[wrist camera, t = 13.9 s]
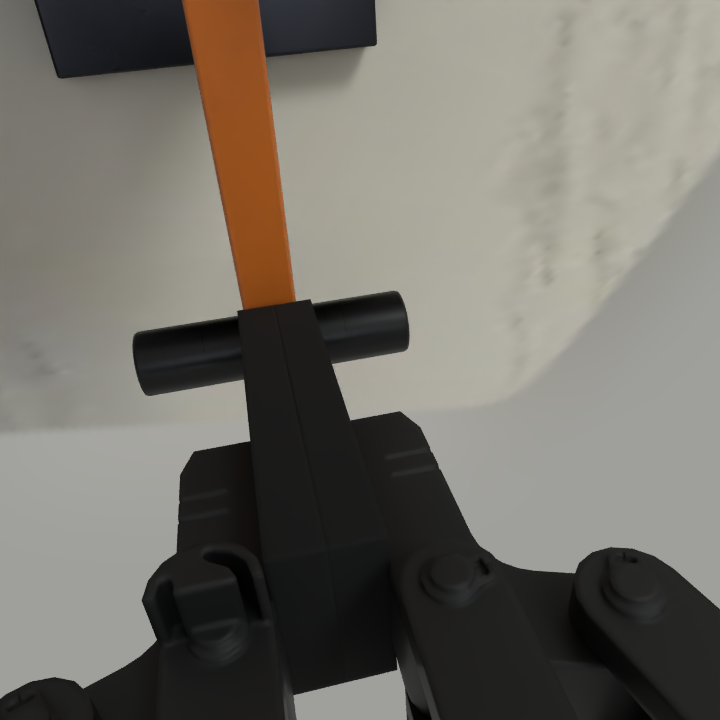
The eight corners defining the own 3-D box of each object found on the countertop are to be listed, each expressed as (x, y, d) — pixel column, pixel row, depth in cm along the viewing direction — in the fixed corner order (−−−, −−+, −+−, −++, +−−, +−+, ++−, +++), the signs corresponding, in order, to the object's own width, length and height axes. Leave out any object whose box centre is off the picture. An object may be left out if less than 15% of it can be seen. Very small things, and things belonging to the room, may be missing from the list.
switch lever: (389, 313, 16) (415, 377, 15) (149, 352, 15) (147, 426, 14) (394, -581, 7) (464, -689, 6) (-185, -605, 6) (-314, -740, 5)
